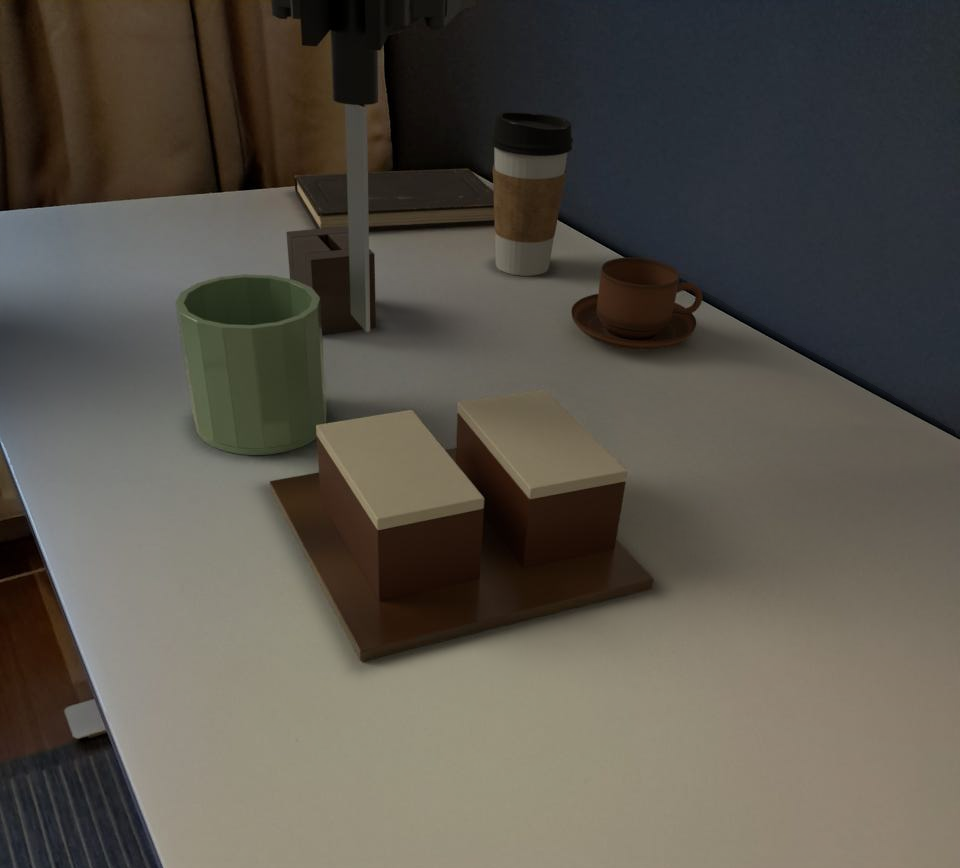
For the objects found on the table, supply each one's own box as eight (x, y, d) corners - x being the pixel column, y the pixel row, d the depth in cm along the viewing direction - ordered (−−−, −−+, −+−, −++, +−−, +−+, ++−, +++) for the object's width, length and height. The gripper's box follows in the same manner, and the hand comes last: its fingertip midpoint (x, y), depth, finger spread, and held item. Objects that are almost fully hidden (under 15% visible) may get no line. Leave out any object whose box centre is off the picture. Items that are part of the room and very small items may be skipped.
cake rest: (320, 502, 68) (315, 424, 64) (411, 485, 70) (412, 409, 66) (379, 601, 60) (377, 519, 56) (480, 578, 62) (485, 497, 58)
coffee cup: (471, 257, 109) (478, 108, 99) (538, 250, 112) (550, 104, 102) (504, 284, 103) (514, 128, 94) (573, 275, 106) (590, 124, 97)
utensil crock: (184, 404, 79) (164, 282, 73) (305, 386, 83) (296, 268, 76) (211, 464, 72) (192, 335, 66) (343, 442, 76) (337, 317, 70)
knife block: (291, 304, 96) (286, 231, 92) (349, 297, 99) (346, 225, 94) (315, 335, 91) (310, 260, 87) (376, 328, 93) (374, 253, 89)
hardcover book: (506, 223, 119) (507, 203, 117) (319, 234, 113) (318, 213, 111) (466, 185, 130) (467, 167, 129) (295, 193, 124) (293, 173, 123)
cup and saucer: (659, 306, 101) (669, 245, 97) (714, 355, 92) (728, 290, 88) (551, 315, 98) (557, 252, 94) (598, 366, 89) (607, 299, 85)
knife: (334, 315, 65) (318, -96, 52) (371, 312, 66) (365, -93, 53) (348, 334, 63) (336, -94, 49) (387, 330, 63) (385, -91, 50)
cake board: (270, 490, 70) (269, 480, 70) (518, 445, 77) (519, 435, 77) (360, 662, 57) (360, 651, 56) (652, 588, 63) (654, 578, 63)
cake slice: (454, 476, 71) (457, 401, 67) (538, 462, 74) (545, 388, 70) (523, 568, 63) (530, 488, 59) (614, 548, 65) (628, 470, 61)
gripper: (493, 34, 70) (490, 109, 52) (275, 20, 69) (195, 90, 52) (500, -97, 65) (499, -64, 47) (265, -113, 65) (173, -86, 47)
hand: (340, 17), depth 49 cm, fingers closed on knife, 3 cm apart
